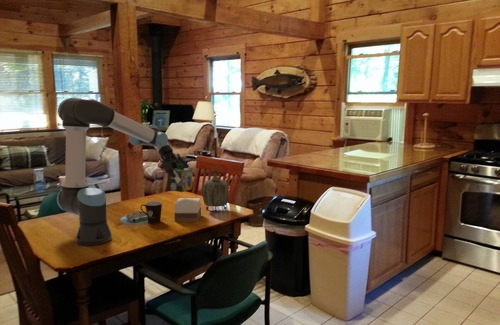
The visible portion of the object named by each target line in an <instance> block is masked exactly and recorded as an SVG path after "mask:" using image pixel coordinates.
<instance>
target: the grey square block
mask: <svg viewBox="0 0 500 325" xmlns="http://www.w3.org/2000/svg"><path fill="white" fill-rule="evenodd" d="M201 216H202V207H201V206H200V209H199V211H198V213H175V212H174V222H181V223H182V222H183V223H185V222H186V223H187V222H188V223H189V222H190V223H191V222H192V223H197V222H198V221H199V219H200V218H201Z"/></svg>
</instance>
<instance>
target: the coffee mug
mask: <svg viewBox="0 0 500 325" xmlns="http://www.w3.org/2000/svg"><path fill="white" fill-rule="evenodd" d="M143 206H144V207H145V211H144V210H143V208H142V207H143ZM162 206H163V202H162V201H160V200H159V201H158V200H154V201H153V200H151V201H147V202H145V204H141V205H140V207H139V208H140V211H142V213H143V214H145V215H146V217H147V223H149V224H158V223H160V222H161V221H162V220H161V218H162V208H163V207H162Z"/></svg>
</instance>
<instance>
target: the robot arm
mask: <svg viewBox="0 0 500 325" xmlns="http://www.w3.org/2000/svg"><path fill="white" fill-rule="evenodd" d="M57 114H58V117H59V118H60V120H61V122H62V123H61V124H62V125H61V126H62V127H63V129H64V130H65V174H64V175H65V180H64V182H63V183H62V184H61V189H60V190H59V192H58V193H57V196H56V203H57V206H58V207H59V208H60V209H61V210H62V211H64V212H66V213H70V214H74V215H76V216H78V221H79V227H78V229H77V234H76V236H75V240H76V241H75V242H76V244H77V245H79V246H85V247H86V246H87V247H88V246H89V247H91V246H92V247H93V246H99V245H103V244H105V243H108V242H111V240H112V239H113V235H112V231H111V229H110V226H109V224H108V220H107V219H108V216H107V198H106V193H105V191H104V190H103V189H101V188H97V187H90V186H89V184H88V183H87V182H86V158H87V156H86V155H87V154H86V152H87V131H88V130H89V129H90V127H91V126H90V125H97V126H101V127H103V128H107V127H108V128H111V129H113V130H116V131H118V132H121V133H122V134H125V135H128V139H129V140H128V141H129V144H131V145H132V146H141V145H142V146H150V147H153V148H154V149H155V150H156V151H157V153H158V154H159V156H160V158H159V161H160V162H161V165H162V168H163V169H164V171H165V173H166V174H168V175H169V176H170V174H171V175H172V177H173V178H174V179H175V180H176V182H177V183H179V182H180V181H181V179H180V178H179V176H178V175H177V173H176V172H175V171H173V169H174V168H173V164H176V163H180V164H183V167H184V168H189V167H190V165H189V163H187V162H186V161H185V160H184V159H183V157H182V156H181V155H180V154H179V153H177V154H175V153H174V149H173V147H171V145H170V143H169V142H168V141H169V136H168V135H167V133H165V132H162V131H160V129H159V128H158V127H157V126H156V125H155V124H150V125H148V126H146V125H144V124H142V123H140V122H137V121H135V119H131V118H129V117H127V116H125V115H123V114H120V113H119V112H116V111H115V109H114V107H111V106H109V105H107V104H105V103H102V102H100V101H99V100H96V99H93V98H91V97H68V98H65V99H64V100H62V101H61V102H60V103H59V105H58V108H57ZM172 163H173V164H172ZM179 167H180V168H182V166H180V165H179ZM193 178H194V176H193V175H192V179H193Z"/></svg>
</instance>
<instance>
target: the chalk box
mask: <svg viewBox="0 0 500 325" xmlns="http://www.w3.org/2000/svg"><path fill="white" fill-rule="evenodd" d="M175 165H176V168H173V171H175V172H176V173H177V175H178V176H179V178H180V179H181V181H180V182H179V183H177V182H176V180H175V179H174V178H173V177H172V175H171V174H170V175H169V191H175V192H180V193H183V192H186V191H190V190H193V189H194V188H193V186H194V185H193V184H194V181H193V178H192V176H193V169H192V168H189V167H188V168H184V167H183V164H180V163H175ZM179 165H180V166H182V168H181V167H179Z"/></svg>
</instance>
